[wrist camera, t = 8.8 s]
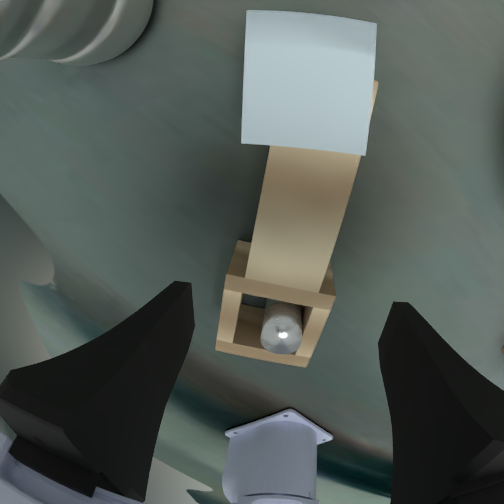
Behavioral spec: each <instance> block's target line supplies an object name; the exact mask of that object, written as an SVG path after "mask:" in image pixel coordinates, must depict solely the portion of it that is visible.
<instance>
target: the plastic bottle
mask: <svg viewBox="0 0 504 504" xmlns="http://www.w3.org/2000/svg"><path fill="white" fill-rule="evenodd" d="M152 7H153V0H0V60H4V59H9V58H28V59H46V60H50V61H52V62H56V63H59V64H65V65H71V66H79V67H82V66H90V65H94V64H97V63H101V62H104V61H107V60H111V59H113V58H115V57H117V56H119V55H120V54H122V53H123V52H124V51H126V50H127V49H128V48H129V47H130V46H131V45H132V44H133V43H134V42H135V41H136V40H137V39H138V38H139V36H140V35H141V34H142V32H143V31H144V29H145V27H146V25H147V24H148V21H149V18H150V16H151V12H152Z"/></svg>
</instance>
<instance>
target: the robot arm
mask: <svg viewBox="0 0 504 504" xmlns="http://www.w3.org/2000/svg"><path fill="white" fill-rule="evenodd" d="M194 327H195V323H194V312H193V300H192V287H191V283H188V282H180V281H174V282H173V283H172V284H170V285H169V286H168V287H167V288H165V289H164V290H163V291H162V292H160V293H159V294H158V295H157V296H155V297H154V298H153V299H152V300H151V301H149V302H148V303H147V304H146V305H144V306H143V307H142V308H140V309H139V310H138V311H137V312H135V313H134V314H132V315H131V316H130V317H128V318H127V319H125V320H124V321H123V322H121V323H120V324H118V325H117V326H115V327H114V328H112V329H111V330H109V331H107V332H106V333H104V334H102V335H101V336H99V337H97V338H95V339H94V340H92V341H90V342H88V343H86V344H84V345H82V346H80V347H78V348H75V349H73V350H71V351H69V352H67V353H64V354H62V355H59V356H57V357H54V358H52V359H49V360H46V361H43V362H40V363H37V364H33V365H30V366H26V367H22V368H18V369H14V370H11V371H10V372H9V374H8V375H7V376H6V378H5V379H4V380H3V382H2V383H1V385H0V416H1V417H2V418H3V419H4V421H5V422H6V423H7V424H8V425H9V426H10V428H11V429H12V430H13V431H14V432H15V433H16V434H17V437H16V439H15V440H14V441H13V440H12V439H10V438H9V437H8V436H6V435H5V434H3V433H1V432H0V504H145V503H143V502H144V501H145V496H146V489H147V484H148V478H149V471H150V467H151V462H152V457H153V453H154V448H155V444H156V440H157V436H158V432H159V428H160V424H161V420H162V417H163V413H164V410H165V406H166V404H167V401H168V398H169V395H170V393H171V391H172V388H173V386H174V383H175V381H176V379H177V376H178V374H179V371H180V369H181V367H182V364H183V362H184V359H185V357H186V355H187V352H188V350H189V346H190V343H191V339H192V335H193V331H194ZM378 348H379V360H380V368H381V373H382V377H383V382H384V387H385V391H386V396H387V401H388V406H389V411H390V416H391V423H392V435H393V481H392V494H391V503H390V504H504V391H503V390H502V389H500V388H499V387H498V386H496V385H495V384H493V383H492V382H490V381H489V380H488V379H486V378H485V377H484V376H483V375H481V374H480V373H479V372H478V371H477V370H475V369H474V368H473V367H472V366H471V365H469V364H468V363H467V362H466V361H465V360H464V359H463V358H462V357H461V356H460V355H459V354H458V353H457V352H456V351H455V350H454V349H452V348H451V347H450V345H449V344H448V343H447V342H446V341H445V340H444V339H443V338H442V337H441V336H440V335H439V334H438V333H437V332H436V331H435V330H434V329H433V328H432V326H431V325H430V324H429V323H428V322H427V321H426V320H425V319H424V318H423V317H422V316H421V315H420V314H419V313H418V311H417V310H416V309H415V308H414V307H413V306H412V305H410V304H409V303H408V302H393V304H392V307H391V310H390V312H389V315H388V318H387V321H386V323H385V326H384V329H383V331H382V334H381V337H380V339H379V342H378ZM225 435H226V436H228V437H230V441H229V446H228V451H227V456H226V462H225V467H224V472H223V477H222V487H223V491H224V494H225V496H226V498H227V499H228V500H229V501H230V502H231V503H230V504H319V500H316V472H317V445H318V444H321V443H324V442H327V441H330V440H332V439H333V436H332V435H331V434H330V433H328V432H326V431H325V430H323V429H322V428H320V427H319V426H317V425H316V424H314V423H313V422H311V421H310V420H308V419H307V418H305V417H304V416H302V415H301V414H299V413H298V412H296V411H295V410H293V409H287V410H284V411H282V412H279V413H276V414H274V415H271V416H268V417H266V418H263V419H260V420H257V421H254V422H251V423H248V424H246V425H243V426H239V427H236V428H233V429H230V430H227V431H226V432H225Z"/></svg>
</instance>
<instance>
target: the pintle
mask: <svg viewBox="0 0 504 504" xmlns="http://www.w3.org/2000/svg"><path fill="white" fill-rule="evenodd" d="M301 343H302V305H299V304H294V303H289V302H284V301H279V300H274V299H269V298H266V304H265V312H264V319H263V326H262V333H261V344H262V345H263V347H264V348H265V349H266V350H268V351H269V352H272V353H275V354H289V353H292V352H294V351H296V350H297V349H298V348H299V347H300V346H301Z"/></svg>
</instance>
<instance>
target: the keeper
mask: <svg viewBox="0 0 504 504" xmlns="http://www.w3.org/2000/svg"><path fill="white" fill-rule="evenodd" d="M376 29H377V24H376V23H371V22H366V21H361V20H355V19H349V18H343V17H336V16H329V15H320V14H311V13H301V12H287V11H266V10H247V15H246V36H245V58H244V82H243V107H242V134H241V144H258V145H272V146H285V147H296V148H306V149H316V150H324V151H333V152H341V153H348V154H356V155H363V156H365V155H366V148H367V140H368V132H369V123H370V114H371V104H372V93H373V82H374V68H375V52H376Z"/></svg>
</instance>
